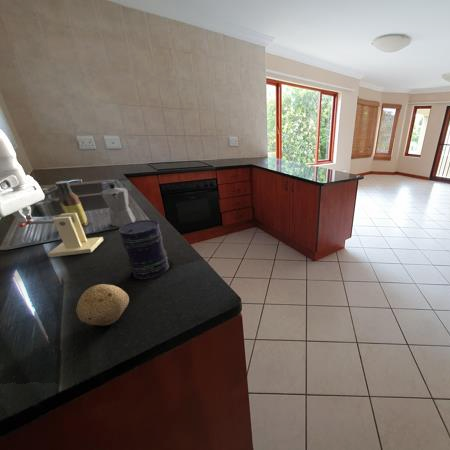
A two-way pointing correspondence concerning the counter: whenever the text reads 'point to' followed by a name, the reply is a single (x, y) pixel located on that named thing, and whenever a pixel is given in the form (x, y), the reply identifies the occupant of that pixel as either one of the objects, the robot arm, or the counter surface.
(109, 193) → the coffeepot
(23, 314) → the counter surface
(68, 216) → the lever
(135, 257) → the storage jar
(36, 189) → the robot arm
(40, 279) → the counter surface
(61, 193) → the sauce bottle
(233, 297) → the counter surface
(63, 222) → the bracket
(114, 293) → the potato
